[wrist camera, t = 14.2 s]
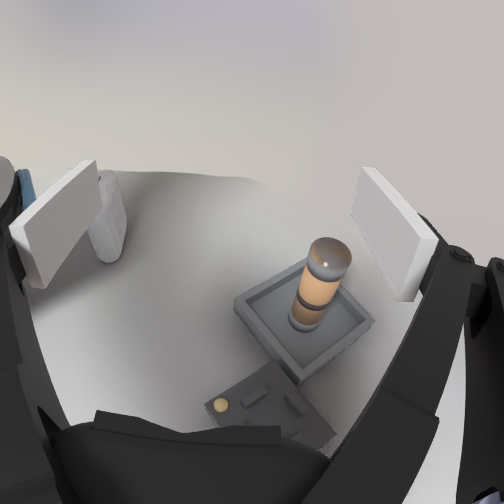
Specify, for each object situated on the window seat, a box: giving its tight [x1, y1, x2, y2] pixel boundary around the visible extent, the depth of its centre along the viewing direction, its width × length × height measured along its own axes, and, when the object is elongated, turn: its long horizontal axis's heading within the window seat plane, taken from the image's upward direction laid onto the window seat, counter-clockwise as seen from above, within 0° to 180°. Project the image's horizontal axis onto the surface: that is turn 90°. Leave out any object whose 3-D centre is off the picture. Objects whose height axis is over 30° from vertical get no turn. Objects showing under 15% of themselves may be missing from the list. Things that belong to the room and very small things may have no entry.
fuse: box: [288, 237, 352, 333], centre depth 39 cm, size 5×5×14 cm
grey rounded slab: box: [87, 170, 127, 263], centre depth 47 cm, size 10×4×12 cm, turn 6°
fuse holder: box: [204, 361, 336, 450], centre depth 33 cm, size 12×10×5 cm
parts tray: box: [234, 258, 375, 387], centre depth 44 cm, size 14×14×3 cm
